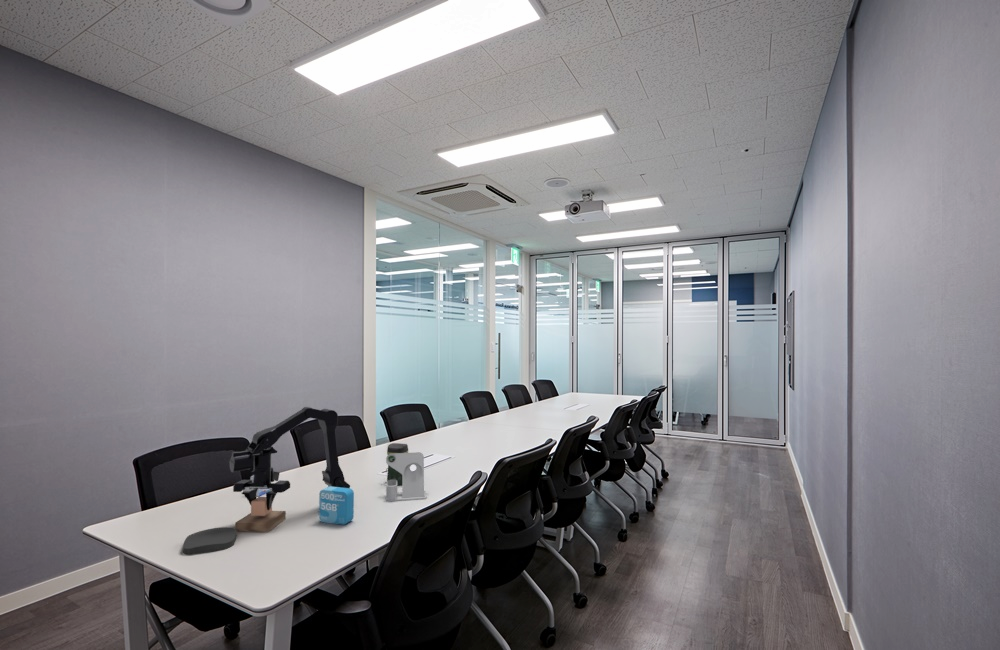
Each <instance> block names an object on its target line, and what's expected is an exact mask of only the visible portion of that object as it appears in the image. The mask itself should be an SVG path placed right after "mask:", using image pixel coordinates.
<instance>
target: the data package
mask: <svg viewBox="0 0 1000 650" xmlns="http://www.w3.org/2000/svg"><path fill="white" fill-rule="evenodd" d="M318 495H319V497H318V498H319V501H318V503H319V505H318V513H319V514H318V519H319V521H320V522H321V523H326V524H334V525H343V526H345V525H346V524H348V523H350V522H351V521H353V520H354V511H355V510H354V507H355V505H354V504H355V503H354V502H355V501H354V500H355V499H354V498H355V491H354V490H353V488H351V487H350V488H341V487H331V486H329V487H328V486H327V487H325V488H323V489H321V490H320V491H319V494H318Z"/></svg>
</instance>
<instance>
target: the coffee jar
mask: <svg viewBox="0 0 1000 650" xmlns="http://www.w3.org/2000/svg"><path fill="white" fill-rule="evenodd" d="M386 453H387V454H386V455H387V456H388V455H389V454H395V453H409V445H408V444H407V443H395V442H394V443H390V444H387V449H386ZM388 460H389V462H394V460H395V457H394V456H390V457H389V458H388ZM388 480H397V486H401V485H402V474H401V473H399V472H398V471H396V470H395V469H393V468H392V467H390V466H389V465H388V466H387V474H386V482H387V481H388Z"/></svg>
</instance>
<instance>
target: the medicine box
mask: <svg viewBox="0 0 1000 650" xmlns="http://www.w3.org/2000/svg"><path fill="white" fill-rule="evenodd" d="M253 477H254V474H252V475H251V476H250V479H249V480H252V482H253ZM268 492H269V489H258V490H257V493H256V498H258V497H262V496H263V494H264V495H266V493H268Z"/></svg>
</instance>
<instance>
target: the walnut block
mask: <svg viewBox="0 0 1000 650" xmlns="http://www.w3.org/2000/svg"><path fill="white" fill-rule="evenodd" d="M286 515H287V513H286V510H272V511H271V512H269V513H268V514H266V515H265V516H251V512H249V513H248V514H247V515H245V516H244V517H242V518H240V519H239V520H237V521H236V522H235V525H234V528H236V529H237V532H249V531H254V532H255V533H257V532H259V533H260V532H261V533H270V531H272V530H273V529H274V528H275V526H276V527H277V526H278V525H280V524H281V523H282V522H283V520H284V521H285V520H286V518H287V517H286ZM279 523H280V524H279ZM271 529H272V530H271Z"/></svg>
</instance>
